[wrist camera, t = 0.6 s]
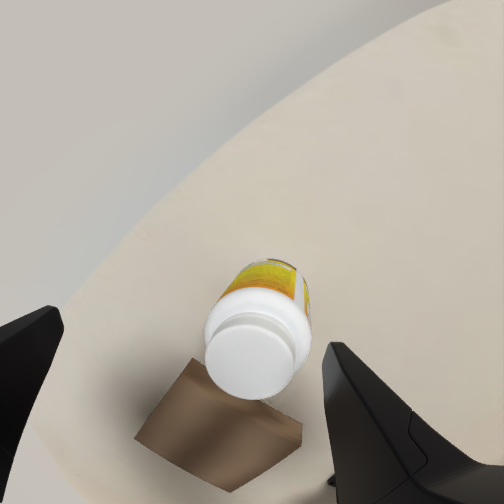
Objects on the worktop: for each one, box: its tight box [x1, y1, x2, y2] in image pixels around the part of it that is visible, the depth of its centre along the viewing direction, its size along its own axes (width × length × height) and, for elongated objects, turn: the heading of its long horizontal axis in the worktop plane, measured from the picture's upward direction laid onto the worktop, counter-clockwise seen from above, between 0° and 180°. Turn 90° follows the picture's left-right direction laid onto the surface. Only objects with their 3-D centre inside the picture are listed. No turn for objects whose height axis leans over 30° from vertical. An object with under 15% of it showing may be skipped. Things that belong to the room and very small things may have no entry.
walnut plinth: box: [134, 358, 302, 493], centre depth 24 cm, size 12×12×3 cm
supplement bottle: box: [204, 258, 312, 400], centre depth 17 cm, size 6×6×10 cm
